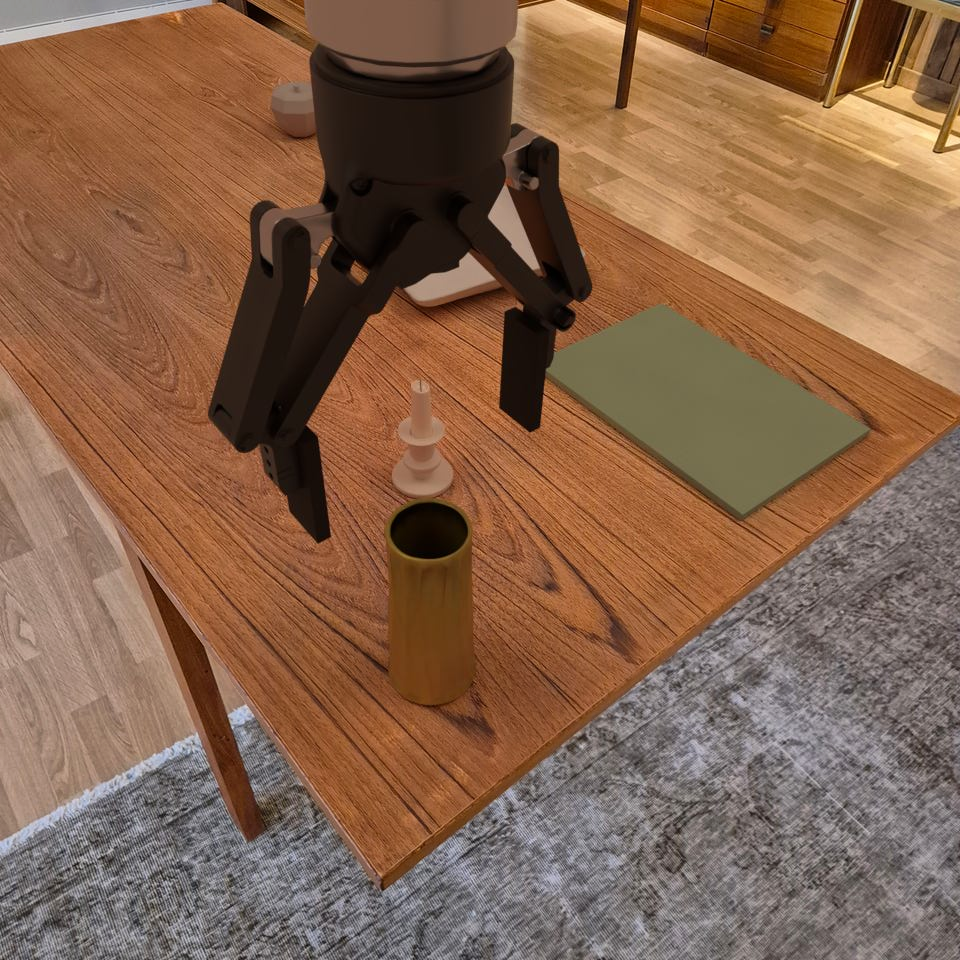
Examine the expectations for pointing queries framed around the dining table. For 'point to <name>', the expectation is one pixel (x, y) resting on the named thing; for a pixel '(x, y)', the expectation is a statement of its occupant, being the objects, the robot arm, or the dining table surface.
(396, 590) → the fluted gold cylinder
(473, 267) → the plate
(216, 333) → the dining table surface
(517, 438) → the dining table surface
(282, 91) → the apple
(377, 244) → the robot arm
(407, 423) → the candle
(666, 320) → the mat
